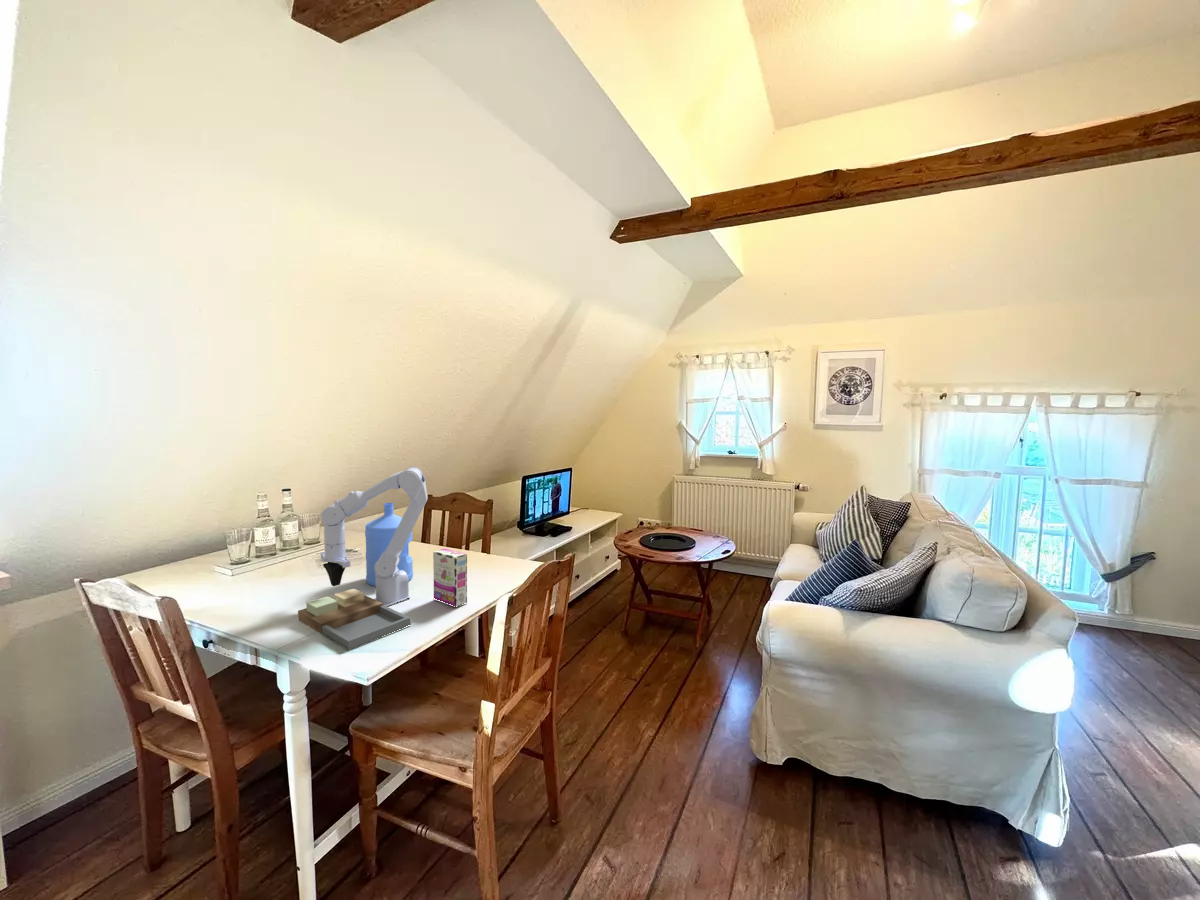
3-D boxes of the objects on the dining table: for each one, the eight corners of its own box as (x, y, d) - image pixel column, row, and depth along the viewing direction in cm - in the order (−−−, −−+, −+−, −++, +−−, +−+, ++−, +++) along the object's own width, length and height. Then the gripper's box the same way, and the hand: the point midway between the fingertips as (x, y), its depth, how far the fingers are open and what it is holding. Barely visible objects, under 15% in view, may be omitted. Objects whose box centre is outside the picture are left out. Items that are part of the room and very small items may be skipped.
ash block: (354, 596, 155) (353, 588, 154) (364, 600, 151) (364, 593, 151) (334, 602, 150) (334, 594, 150) (344, 607, 146) (344, 599, 146)
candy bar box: (468, 603, 158) (468, 553, 157) (455, 608, 154) (455, 557, 153) (445, 595, 165) (445, 547, 163) (432, 600, 160) (432, 551, 159)
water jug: (380, 591, 167) (379, 510, 164) (357, 580, 176) (355, 503, 174) (421, 579, 179) (420, 503, 177) (398, 569, 189) (397, 497, 186)
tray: (383, 613, 150) (383, 605, 149) (410, 625, 142) (410, 617, 141) (322, 634, 135) (322, 626, 135) (348, 650, 127) (348, 641, 127)
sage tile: (327, 604, 148) (327, 596, 148) (337, 609, 145) (337, 601, 144) (306, 610, 143) (306, 602, 143) (316, 616, 140) (316, 607, 140)
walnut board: (358, 601, 158) (358, 592, 158) (382, 612, 150) (382, 603, 150) (298, 620, 144) (298, 610, 143) (321, 634, 135) (321, 623, 135)
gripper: (310, 541, 154) (311, 583, 156) (333, 550, 146) (334, 594, 147) (333, 536, 160) (334, 577, 161) (356, 545, 152) (357, 587, 153)
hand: (335, 584), depth 155 cm, fingers closed
